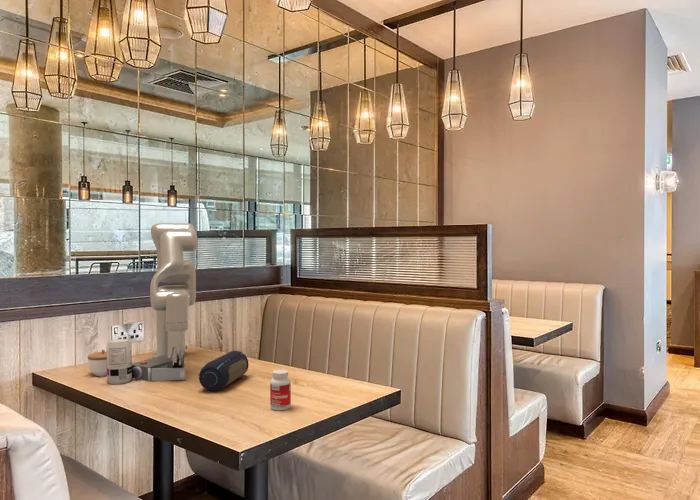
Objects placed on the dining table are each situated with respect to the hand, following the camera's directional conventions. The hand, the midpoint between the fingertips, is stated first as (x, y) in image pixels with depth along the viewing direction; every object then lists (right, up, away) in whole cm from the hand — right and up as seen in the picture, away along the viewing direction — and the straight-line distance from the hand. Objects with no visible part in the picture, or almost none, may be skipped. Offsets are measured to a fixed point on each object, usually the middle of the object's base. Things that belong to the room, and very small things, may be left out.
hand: (177, 375), depth 190 cm
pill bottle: (+43, -2, -34) cm, 55 cm away
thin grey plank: (-2, -1, -3) cm, 4 cm away
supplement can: (-20, -2, -3) cm, 20 cm away
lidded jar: (-31, -2, +8) cm, 32 cm away
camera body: (-11, -1, +8) cm, 13 cm away
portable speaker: (+19, -2, -7) cm, 21 cm away
